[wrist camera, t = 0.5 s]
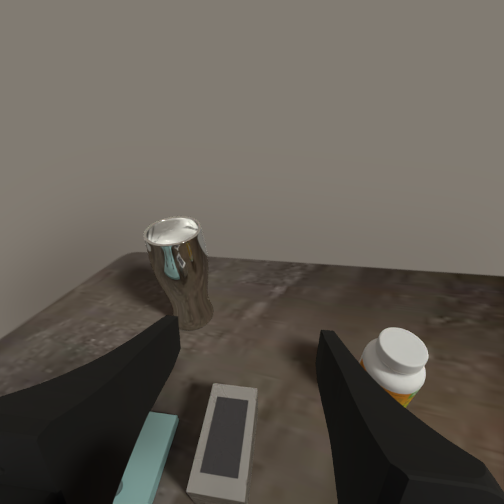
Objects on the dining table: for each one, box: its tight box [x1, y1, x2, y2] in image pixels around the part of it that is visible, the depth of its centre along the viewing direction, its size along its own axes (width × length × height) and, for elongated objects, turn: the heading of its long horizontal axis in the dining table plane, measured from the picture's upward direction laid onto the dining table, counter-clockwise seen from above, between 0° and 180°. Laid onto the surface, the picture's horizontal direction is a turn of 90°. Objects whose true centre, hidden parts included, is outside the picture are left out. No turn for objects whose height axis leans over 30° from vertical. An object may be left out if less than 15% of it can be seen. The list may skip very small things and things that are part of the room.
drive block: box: [186, 383, 258, 504], centre depth 23 cm, size 8×4×5 cm, turn 172°
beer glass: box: [144, 216, 214, 331], centre depth 34 cm, size 7×7×15 cm
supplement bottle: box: [359, 328, 428, 408], centre depth 25 cm, size 5×5×10 cm
